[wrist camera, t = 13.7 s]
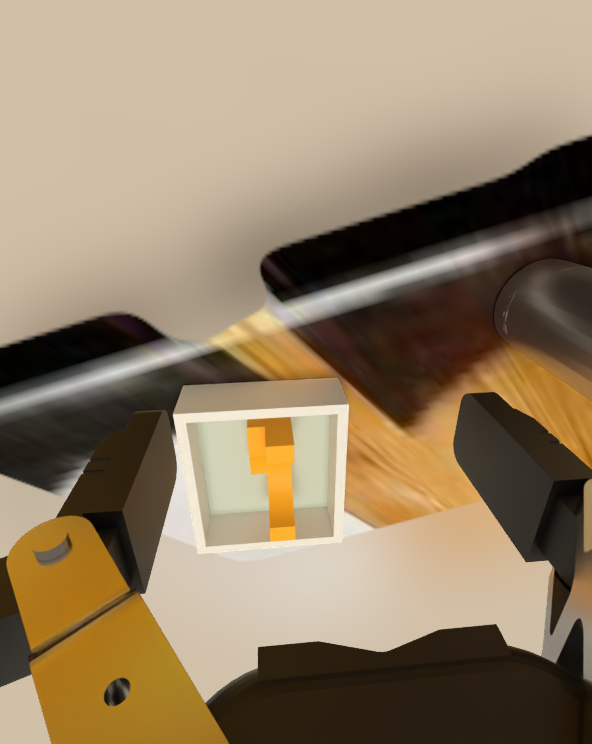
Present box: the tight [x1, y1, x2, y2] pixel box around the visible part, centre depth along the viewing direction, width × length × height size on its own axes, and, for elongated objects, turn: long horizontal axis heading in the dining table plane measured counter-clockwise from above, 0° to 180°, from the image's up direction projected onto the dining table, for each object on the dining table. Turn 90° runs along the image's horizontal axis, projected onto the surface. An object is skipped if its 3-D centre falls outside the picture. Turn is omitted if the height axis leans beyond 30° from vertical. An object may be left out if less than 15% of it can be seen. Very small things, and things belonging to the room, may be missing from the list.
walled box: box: [173, 377, 349, 554], centre depth 43 cm, size 16×18×6 cm
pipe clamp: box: [247, 417, 295, 542], centre depth 42 cm, size 12×4×6 cm, turn 0°
